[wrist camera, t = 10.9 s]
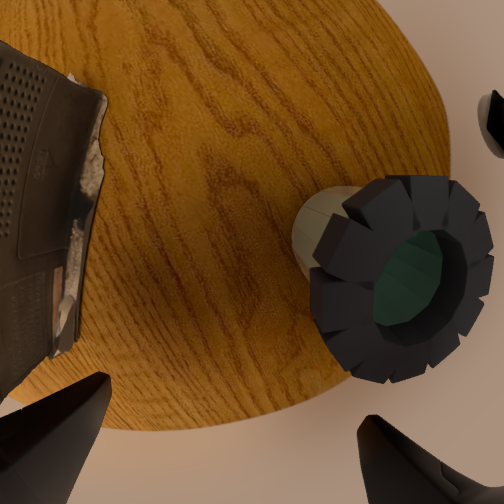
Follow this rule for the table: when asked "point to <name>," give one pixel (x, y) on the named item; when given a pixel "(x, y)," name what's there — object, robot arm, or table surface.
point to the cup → (396, 270)
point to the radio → (43, 208)
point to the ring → (374, 261)
